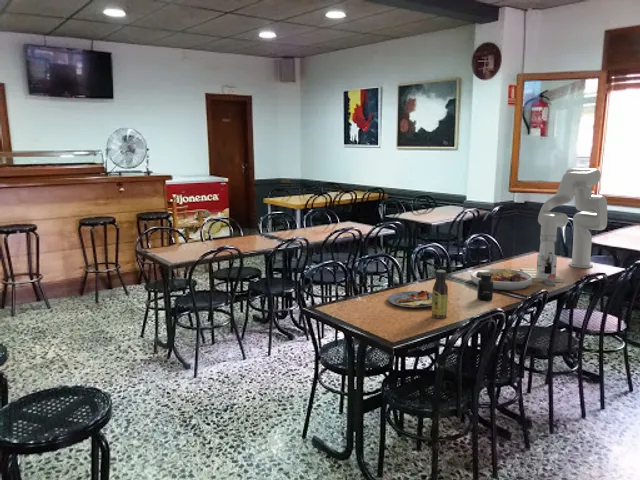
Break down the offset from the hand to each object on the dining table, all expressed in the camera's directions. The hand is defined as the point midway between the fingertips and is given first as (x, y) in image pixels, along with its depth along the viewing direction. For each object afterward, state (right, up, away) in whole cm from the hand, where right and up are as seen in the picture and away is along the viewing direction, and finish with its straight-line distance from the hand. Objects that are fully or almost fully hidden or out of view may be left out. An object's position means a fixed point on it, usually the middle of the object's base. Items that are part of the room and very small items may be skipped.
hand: (546, 271), depth 265 cm
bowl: (-25, -6, -2) cm, 26 cm away
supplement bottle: (-42, -11, -30) cm, 52 cm away
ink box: (0, -3, +1) cm, 3 cm away
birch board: (+1, -3, +10) cm, 11 cm away
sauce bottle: (-68, -16, -53) cm, 88 cm away
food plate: (-74, -12, -32) cm, 82 cm away
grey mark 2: (-1, -5, -7) cm, 9 cm away
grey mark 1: (-1, -6, -3) cm, 7 cm away
